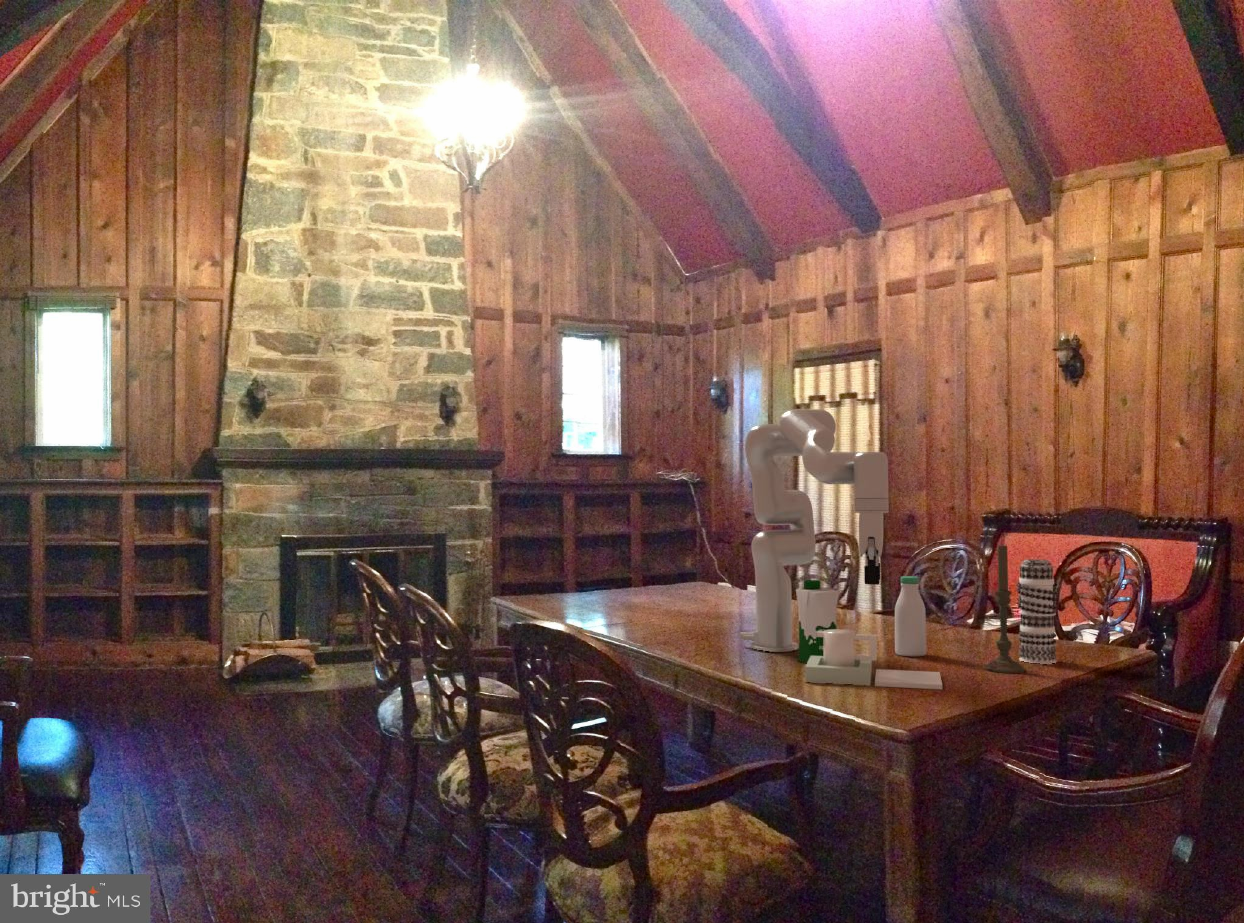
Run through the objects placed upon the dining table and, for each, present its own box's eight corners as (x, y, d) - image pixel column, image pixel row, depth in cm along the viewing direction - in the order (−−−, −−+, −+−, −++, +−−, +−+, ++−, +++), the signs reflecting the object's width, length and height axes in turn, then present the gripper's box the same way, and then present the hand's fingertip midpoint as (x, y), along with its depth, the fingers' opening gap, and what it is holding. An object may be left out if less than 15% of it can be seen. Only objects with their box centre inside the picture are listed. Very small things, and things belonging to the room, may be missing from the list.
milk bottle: (928, 657, 241) (926, 578, 242) (896, 656, 243) (895, 577, 243) (924, 652, 249) (923, 575, 249) (894, 651, 250) (893, 574, 251)
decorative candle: (1026, 656, 242) (1025, 557, 243) (1064, 661, 235) (1062, 559, 236) (1011, 661, 236) (1009, 559, 236) (1049, 666, 229) (1047, 562, 230)
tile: (874, 685, 209) (874, 681, 209) (876, 673, 222) (876, 669, 222) (942, 689, 205) (942, 684, 205) (939, 676, 218) (939, 672, 218)
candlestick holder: (976, 666, 230) (975, 541, 230) (1013, 665, 231) (1011, 541, 231) (994, 673, 221) (992, 544, 221) (1032, 672, 221) (1030, 543, 222)
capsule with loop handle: (816, 679, 216) (816, 633, 216) (819, 673, 222) (818, 628, 222) (876, 682, 212) (875, 635, 212) (877, 676, 219) (876, 630, 219)
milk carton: (820, 658, 242) (819, 578, 242) (844, 664, 234) (843, 582, 234) (792, 661, 238) (792, 580, 238) (816, 667, 230) (815, 584, 230)
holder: (805, 682, 213) (805, 666, 213) (810, 670, 226) (810, 655, 226) (870, 685, 209) (870, 669, 209) (871, 673, 222) (871, 658, 222)
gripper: (855, 505, 226) (857, 578, 225) (852, 507, 209) (853, 585, 209) (888, 505, 224) (890, 578, 223) (888, 507, 207) (889, 586, 206)
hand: (872, 582), depth 216 cm, fingers open, 9 cm apart
